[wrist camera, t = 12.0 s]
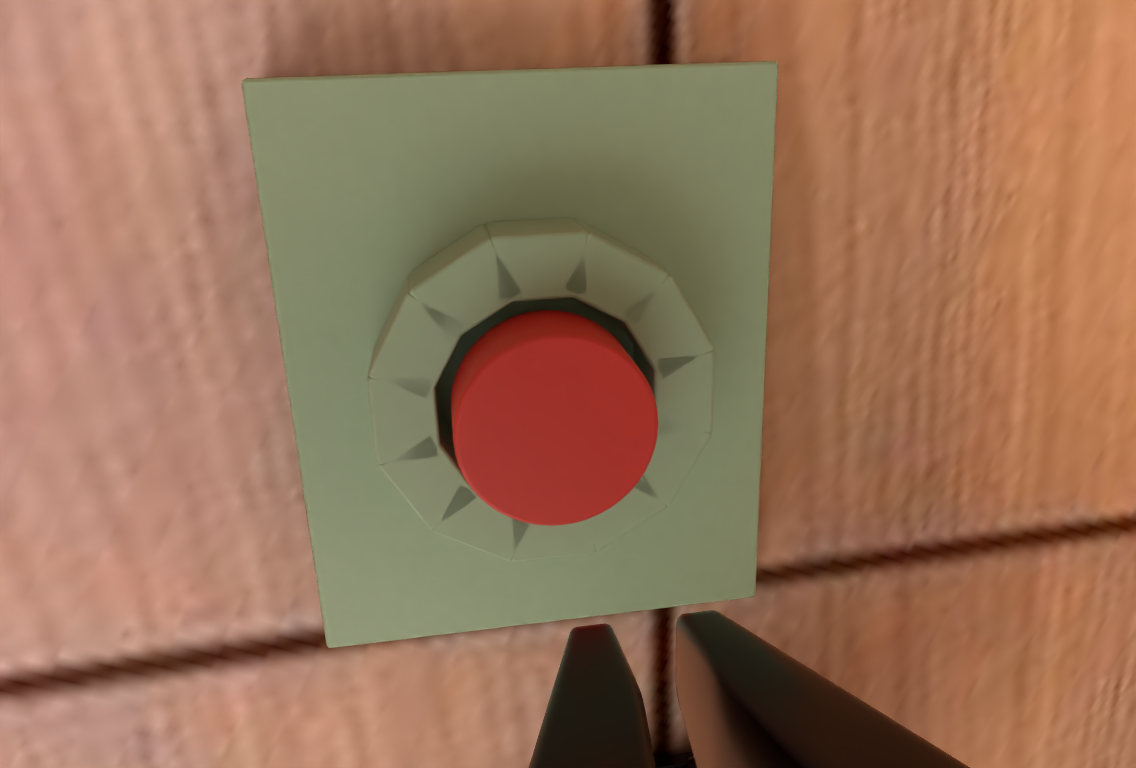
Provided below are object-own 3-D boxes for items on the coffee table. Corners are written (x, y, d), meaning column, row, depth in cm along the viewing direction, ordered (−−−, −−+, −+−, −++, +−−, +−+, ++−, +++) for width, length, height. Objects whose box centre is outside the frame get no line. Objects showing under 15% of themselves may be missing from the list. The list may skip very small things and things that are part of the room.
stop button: (637, 476, 17) (659, 516, 16) (458, 494, 17) (461, 537, 15) (636, 302, 16) (659, 325, 14) (442, 315, 16) (444, 342, 14)
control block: (732, 561, 22) (786, 643, 19) (334, 607, 21) (316, 704, 17) (749, 62, 18) (820, 56, 15) (258, 79, 17) (215, 76, 13)
